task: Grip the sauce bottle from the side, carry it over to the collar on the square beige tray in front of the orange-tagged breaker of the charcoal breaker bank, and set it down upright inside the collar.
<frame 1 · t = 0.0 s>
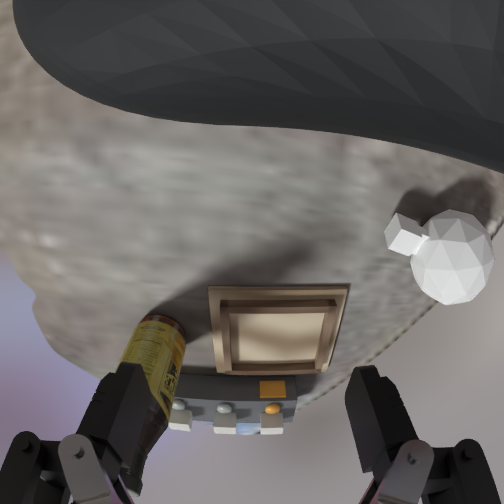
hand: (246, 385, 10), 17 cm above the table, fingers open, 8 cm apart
square beige tray: (275, 334, 31), on the table
breaker bank: (227, 388, 36), on the table
sauce bottle: (163, 329, 31), on the table
faceted ball with stub: (423, 229, 26), on the table
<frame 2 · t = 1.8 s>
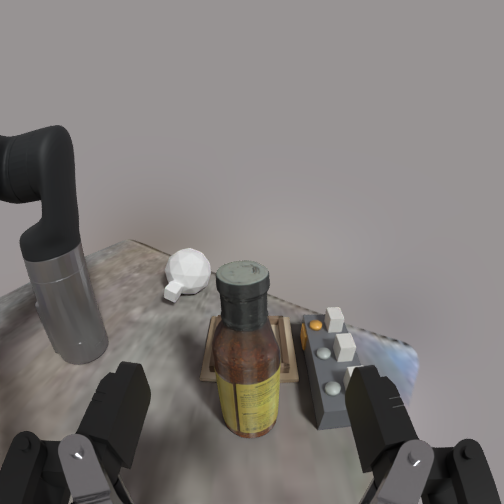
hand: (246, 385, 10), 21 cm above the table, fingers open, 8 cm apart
square beige tray: (249, 347, 41), on the table
breaker bank: (329, 374, 36), on the table
sauce bottle: (248, 420, 29), on the table
faceted ball with stub: (184, 294, 55), on the table
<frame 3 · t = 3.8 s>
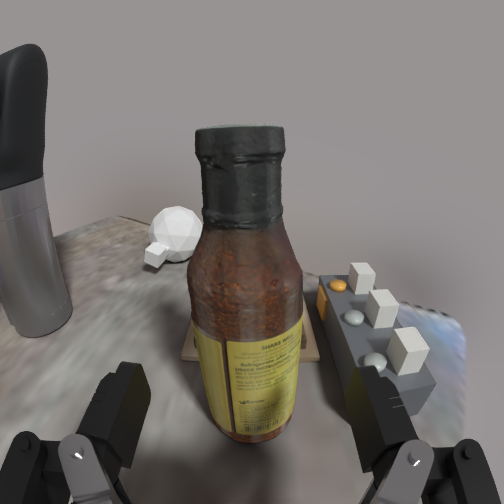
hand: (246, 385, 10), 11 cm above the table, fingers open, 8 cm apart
square beige tray: (250, 319, 32), on the table
breaker bank: (359, 351, 26), on the table
sauce bottle: (249, 415, 20), on the table
faceted ball with stub: (171, 262, 46), on the table
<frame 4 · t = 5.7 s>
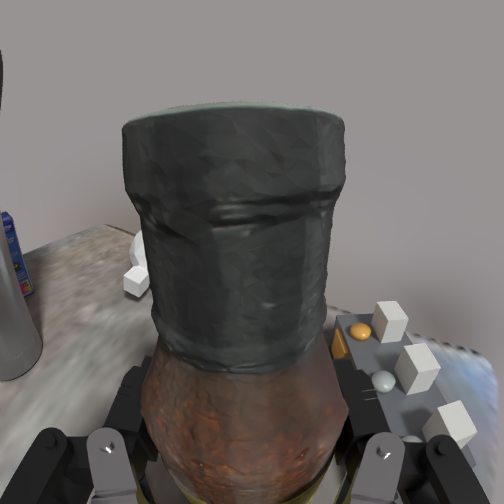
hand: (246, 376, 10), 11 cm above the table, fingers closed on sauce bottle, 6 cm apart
breaker bank: (383, 412, 19), on the table
ink cartridge box: (16, 289, 35), on the table
faceted ball with stub: (157, 287, 38), on the table
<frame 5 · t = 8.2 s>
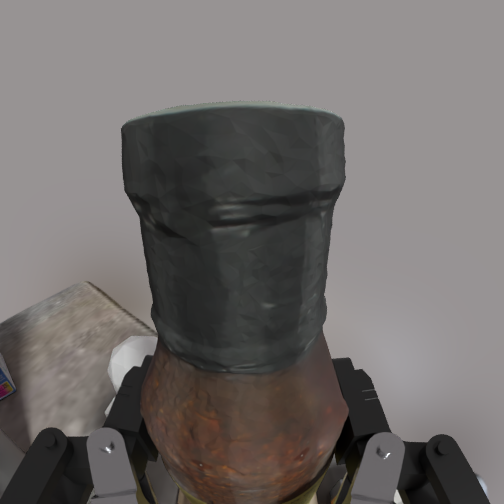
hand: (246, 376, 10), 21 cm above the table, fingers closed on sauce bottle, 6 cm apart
faceted ball with stub: (144, 400, 30), on the table
when the fingers open (13 cm above the table, at t = 10.6 s): sauce bottle stays where it is, resting on square beige tray.
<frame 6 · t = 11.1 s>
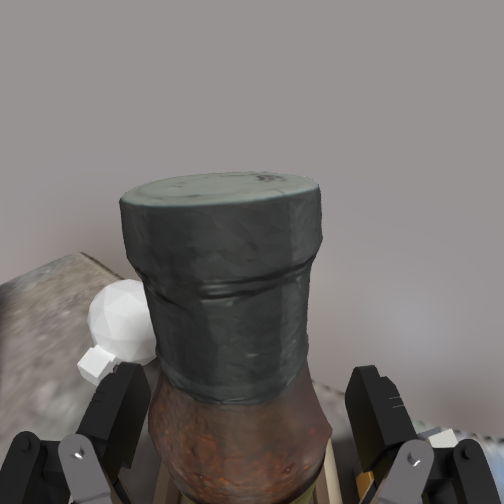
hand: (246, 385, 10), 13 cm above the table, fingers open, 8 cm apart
faceted ball with stub: (128, 361, 27), on the table
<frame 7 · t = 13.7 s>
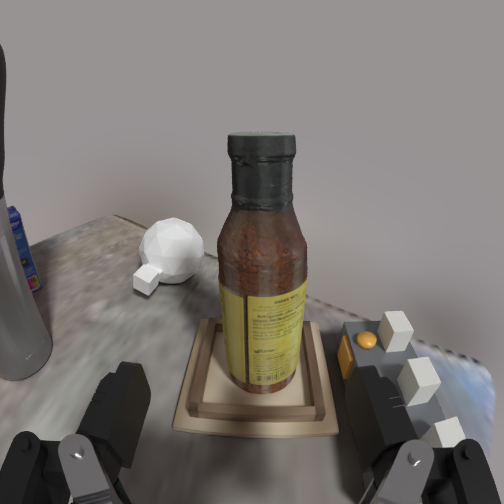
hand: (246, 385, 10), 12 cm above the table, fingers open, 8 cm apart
square beige tray: (257, 373, 25), on the table
breaker bank: (384, 419, 19), on the table
sauce bottle: (259, 372, 25), resting on square beige tray
ink cartridge box: (24, 283, 36), on the table
faceted ball with stub: (166, 283, 39), on the table
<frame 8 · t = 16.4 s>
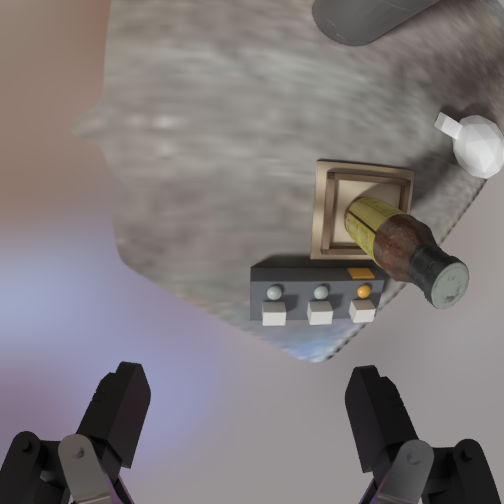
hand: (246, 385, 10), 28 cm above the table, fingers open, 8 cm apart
square beige tray: (363, 213, 36), on the table
breaker bank: (313, 286, 40), on the table
sauce bottle: (363, 215, 36), resting on square beige tray
faceted ball with stub: (456, 135, 31), on the table
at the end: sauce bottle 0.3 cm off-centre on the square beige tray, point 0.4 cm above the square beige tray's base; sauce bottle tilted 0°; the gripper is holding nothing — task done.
